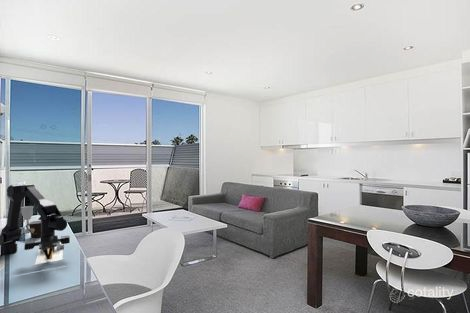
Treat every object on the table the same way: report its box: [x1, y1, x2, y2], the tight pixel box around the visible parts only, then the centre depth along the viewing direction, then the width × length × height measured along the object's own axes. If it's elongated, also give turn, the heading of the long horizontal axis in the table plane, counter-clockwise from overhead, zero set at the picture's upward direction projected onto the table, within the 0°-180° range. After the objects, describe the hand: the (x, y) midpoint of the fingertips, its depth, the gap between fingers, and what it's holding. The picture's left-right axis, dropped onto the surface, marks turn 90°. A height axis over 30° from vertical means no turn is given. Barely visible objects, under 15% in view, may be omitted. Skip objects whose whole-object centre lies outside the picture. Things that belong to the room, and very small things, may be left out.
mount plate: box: [34, 242, 64, 266], centre depth 150 cm, size 12×38×1 cm, turn 32°
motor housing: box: [40, 242, 65, 253], centre depth 151 cm, size 11×5×5 cm, turn 122°
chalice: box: [20, 205, 34, 234], centre depth 188 cm, size 7×7×18 cm
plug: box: [46, 247, 55, 259], centre depth 145 cm, size 4×14×3 cm, turn 32°
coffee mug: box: [25, 220, 41, 239], centre depth 178 cm, size 12×9×10 cm
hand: (48, 259), depth 136 cm, fingers closed
